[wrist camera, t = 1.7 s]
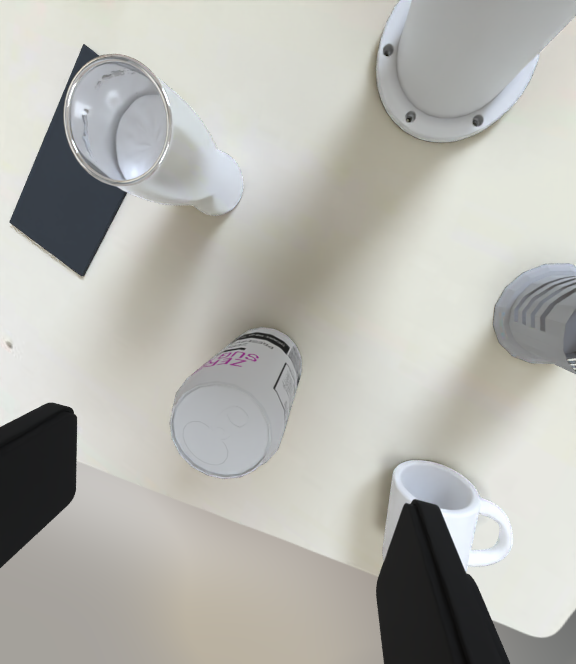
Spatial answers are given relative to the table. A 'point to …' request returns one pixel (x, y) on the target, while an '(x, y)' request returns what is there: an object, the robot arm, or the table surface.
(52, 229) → the mat
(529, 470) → the table surface
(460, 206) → the table surface
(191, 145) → the beer glass
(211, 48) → the table surface
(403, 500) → the mug
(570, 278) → the french press
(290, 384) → the supplement can
